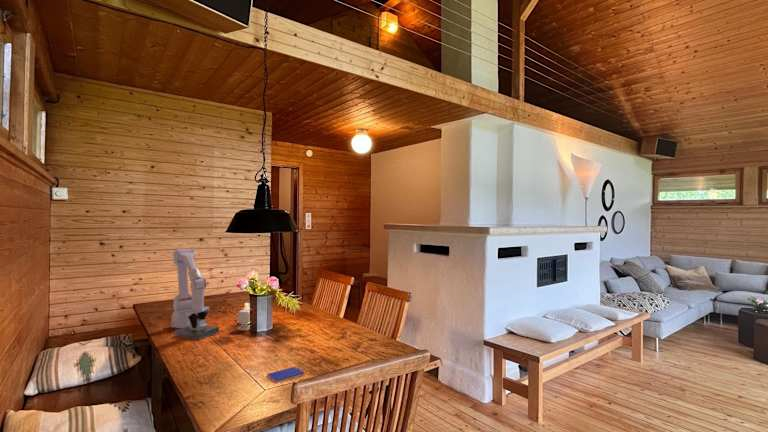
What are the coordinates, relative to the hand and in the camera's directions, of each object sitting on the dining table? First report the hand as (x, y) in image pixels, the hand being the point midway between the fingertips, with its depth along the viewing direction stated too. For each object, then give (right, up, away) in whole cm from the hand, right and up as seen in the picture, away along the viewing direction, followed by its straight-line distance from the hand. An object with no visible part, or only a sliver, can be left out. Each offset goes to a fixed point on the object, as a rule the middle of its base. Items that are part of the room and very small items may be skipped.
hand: (197, 326), depth 210 cm
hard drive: (+60, -6, -51) cm, 79 cm away
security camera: (+21, -5, +13) cm, 25 cm away
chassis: (0, -4, 0) cm, 4 cm away
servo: (0, -1, 0) cm, 1 cm away
